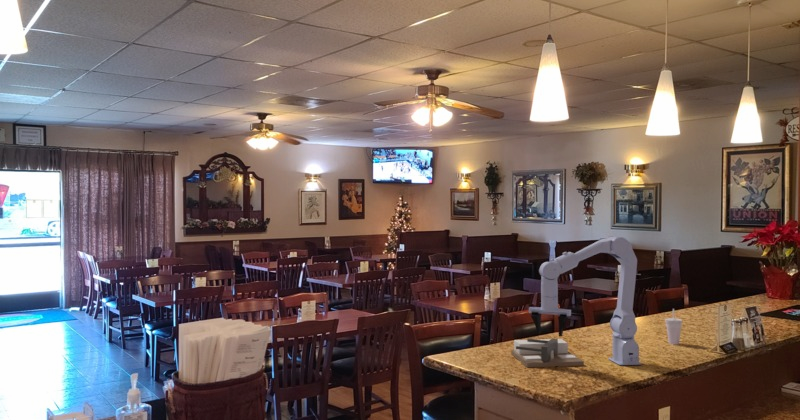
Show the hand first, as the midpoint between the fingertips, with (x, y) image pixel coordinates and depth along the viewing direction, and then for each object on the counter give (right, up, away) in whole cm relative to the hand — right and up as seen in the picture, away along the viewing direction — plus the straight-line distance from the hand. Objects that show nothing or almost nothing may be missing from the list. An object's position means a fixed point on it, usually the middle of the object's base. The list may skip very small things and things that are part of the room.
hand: (549, 334), depth 212 cm
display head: (0, -10, +4) cm, 11 cm away
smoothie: (+57, -10, +28) cm, 64 cm away
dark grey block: (-4, -8, +2) cm, 9 cm away
